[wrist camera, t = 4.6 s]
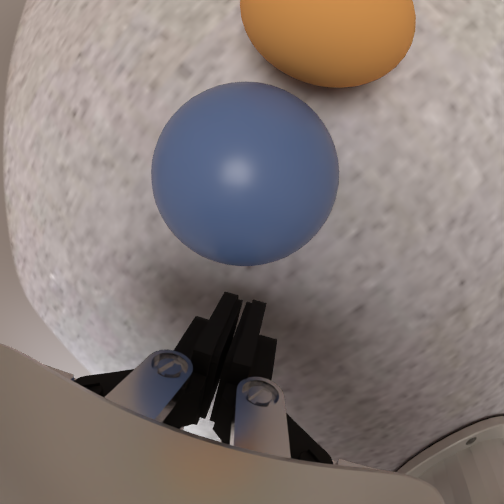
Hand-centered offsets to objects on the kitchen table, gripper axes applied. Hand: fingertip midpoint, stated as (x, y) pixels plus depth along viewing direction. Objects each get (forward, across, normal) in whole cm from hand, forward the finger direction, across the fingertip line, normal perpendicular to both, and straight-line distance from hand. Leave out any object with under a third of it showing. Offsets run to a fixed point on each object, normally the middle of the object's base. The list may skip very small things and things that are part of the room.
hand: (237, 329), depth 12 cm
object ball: (-1, 0, -12) cm, 12 cm away
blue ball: (-1, +1, -6) cm, 6 cm away
